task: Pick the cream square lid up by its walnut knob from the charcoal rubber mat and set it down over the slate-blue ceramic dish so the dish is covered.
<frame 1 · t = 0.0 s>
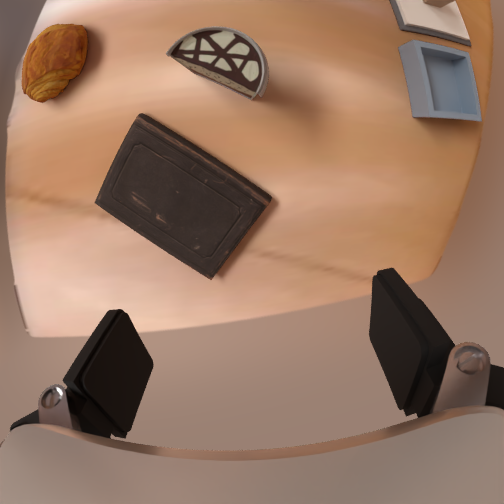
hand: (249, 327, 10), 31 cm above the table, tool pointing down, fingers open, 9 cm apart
food container: (233, 68, 31), on the table
croissant: (62, 61, 29), on the table
hardcover book: (178, 195, 40), on the table
dish: (434, 83, 30), on the table
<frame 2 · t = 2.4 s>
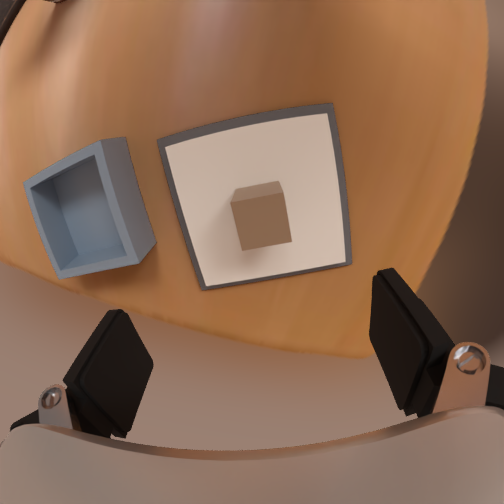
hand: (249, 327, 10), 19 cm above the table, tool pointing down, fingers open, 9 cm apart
dish: (96, 204, 27), on the table
lid: (261, 202, 26), resting on mat
mat: (261, 201, 27), on the table
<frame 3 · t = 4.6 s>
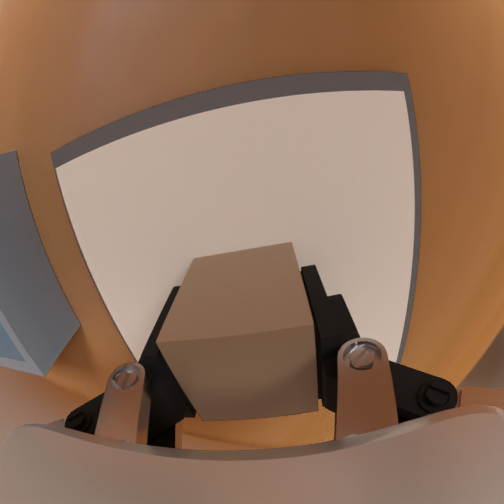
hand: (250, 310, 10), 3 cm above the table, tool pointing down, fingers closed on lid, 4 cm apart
dish: (0, 258, 13), on the table
lid: (251, 280, 13), resting on mat, touching gripper
mat: (251, 275, 13), on the table
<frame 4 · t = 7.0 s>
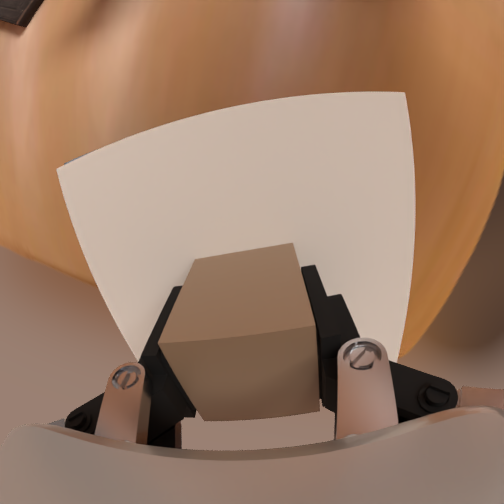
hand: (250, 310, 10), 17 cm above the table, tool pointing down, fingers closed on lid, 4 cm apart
lid: (252, 281, 13), point 15 cm above the table, touching gripper
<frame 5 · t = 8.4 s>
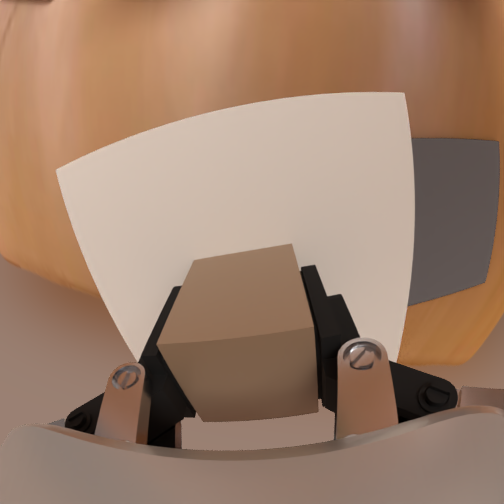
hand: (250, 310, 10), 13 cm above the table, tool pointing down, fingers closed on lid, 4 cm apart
lid: (251, 281, 13), point 11 cm above the table, touching gripper
mat: (443, 224, 22), on the table
when the fingers open (9 cm above the table, at t = 9.5 s): lid drops 1 cm, resting on dish.
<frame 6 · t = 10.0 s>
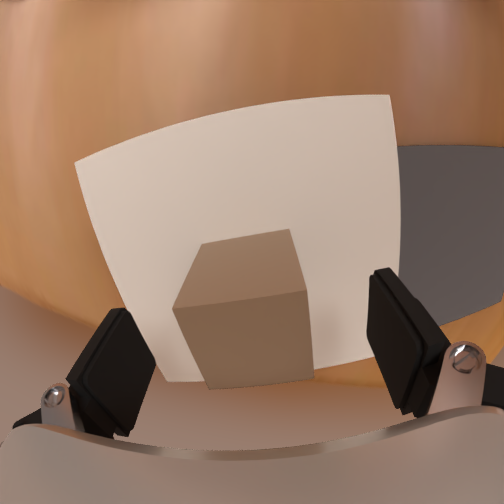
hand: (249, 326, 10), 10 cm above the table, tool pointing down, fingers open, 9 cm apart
lid: (253, 265, 14), point 5 cm above the table, touching dish
mat: (464, 243, 18), on the table
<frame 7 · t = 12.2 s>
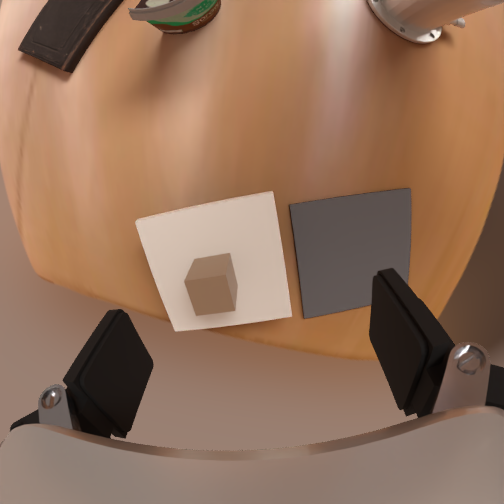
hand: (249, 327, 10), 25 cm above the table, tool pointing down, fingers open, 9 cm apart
food container: (202, 12, 23), on the table
hardcover book: (87, 0, 20), on the table
lid: (217, 268, 31), point 5 cm above the table, touching dish
mat: (357, 255, 36), on the table
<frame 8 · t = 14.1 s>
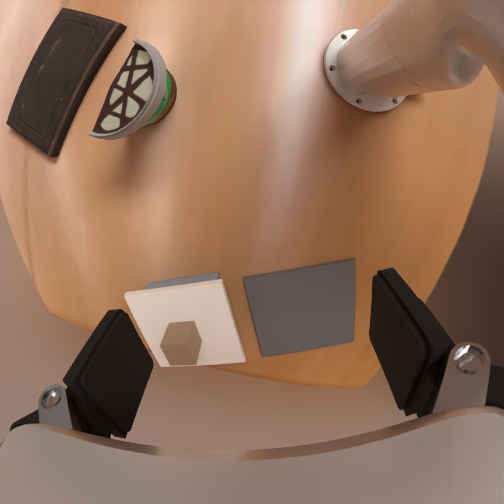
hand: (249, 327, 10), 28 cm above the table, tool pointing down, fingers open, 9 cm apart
food container: (161, 102, 31), on the table
hardcover book: (60, 77, 28), on the table
dish: (193, 308, 44), on the table
lid: (187, 327, 39), point 5 cm above the table, touching dish
mat: (304, 312, 44), on the table
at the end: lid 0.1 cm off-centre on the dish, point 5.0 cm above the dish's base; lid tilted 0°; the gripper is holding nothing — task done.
